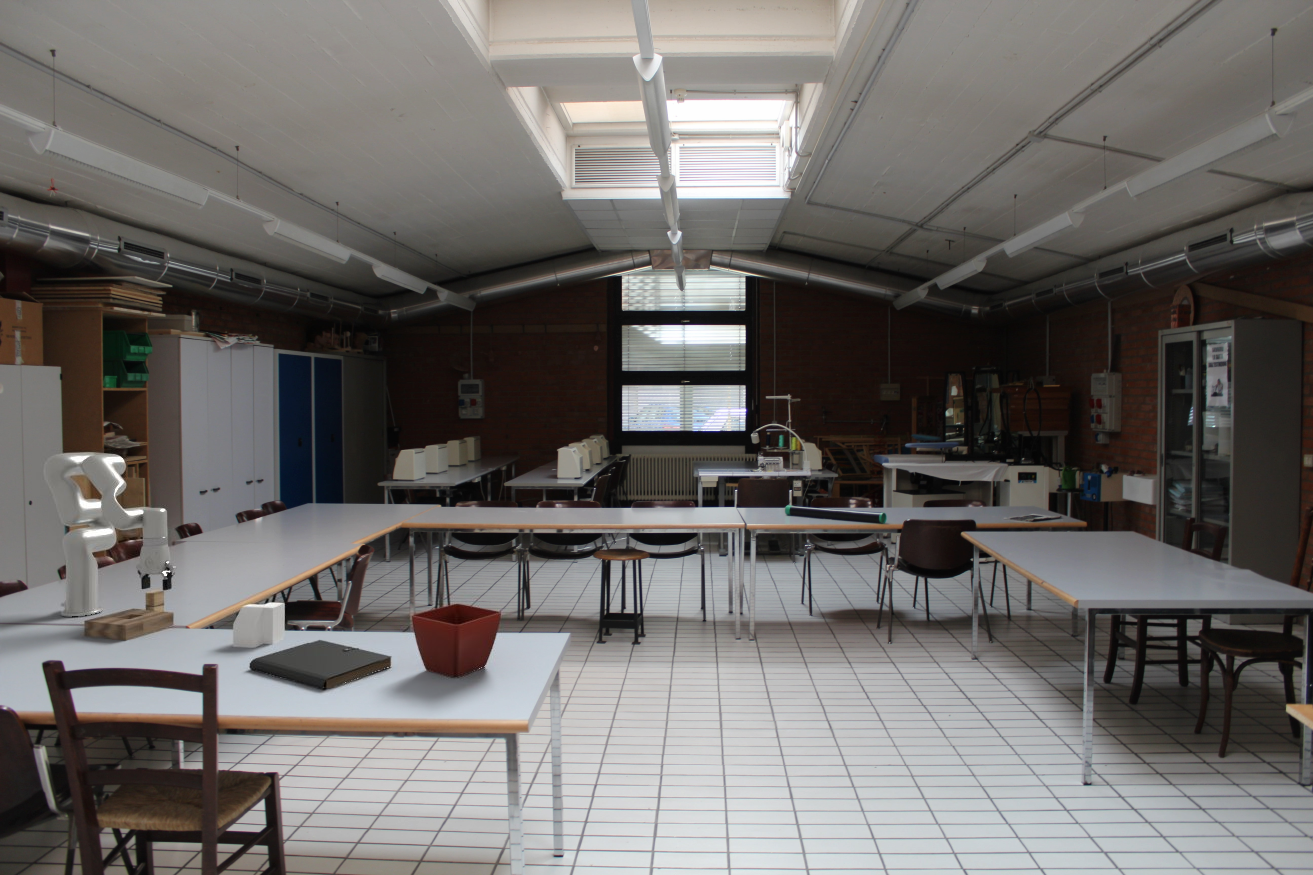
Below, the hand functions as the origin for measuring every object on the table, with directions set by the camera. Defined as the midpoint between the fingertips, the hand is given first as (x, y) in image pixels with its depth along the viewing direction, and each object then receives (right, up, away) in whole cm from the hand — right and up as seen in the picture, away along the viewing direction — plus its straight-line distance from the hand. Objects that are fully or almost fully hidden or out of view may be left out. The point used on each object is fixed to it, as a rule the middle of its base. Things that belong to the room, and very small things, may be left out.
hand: (156, 589), depth 284 cm
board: (+1, -11, -16) cm, 19 cm away
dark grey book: (+82, -14, -52) cm, 98 cm away
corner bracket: (+51, -13, -26) cm, 59 cm away
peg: (-1, -11, 0) cm, 11 cm away
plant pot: (+122, -14, -50) cm, 133 cm away
